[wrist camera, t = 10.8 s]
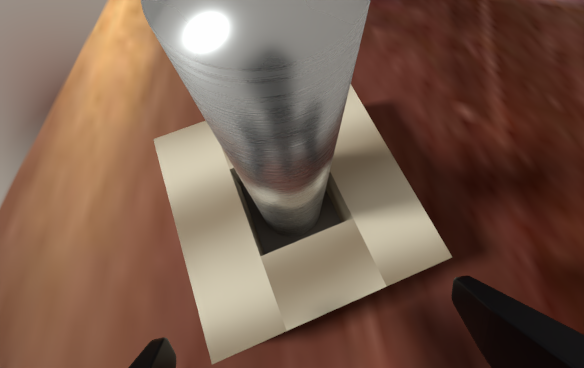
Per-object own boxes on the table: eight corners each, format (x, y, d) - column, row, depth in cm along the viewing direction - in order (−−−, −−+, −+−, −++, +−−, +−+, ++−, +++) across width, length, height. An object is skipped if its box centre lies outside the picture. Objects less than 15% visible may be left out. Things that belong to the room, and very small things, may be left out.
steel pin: (332, 206, 17) (422, -34, 4) (292, 249, 17) (251, 115, 3) (290, 170, 18) (259, -119, 5) (250, 208, 18) (95, -17, 4)
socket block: (419, 263, 17) (452, 257, 13) (233, 345, 16) (212, 364, 12) (335, 109, 21) (343, 71, 17) (181, 166, 20) (153, 139, 16)
